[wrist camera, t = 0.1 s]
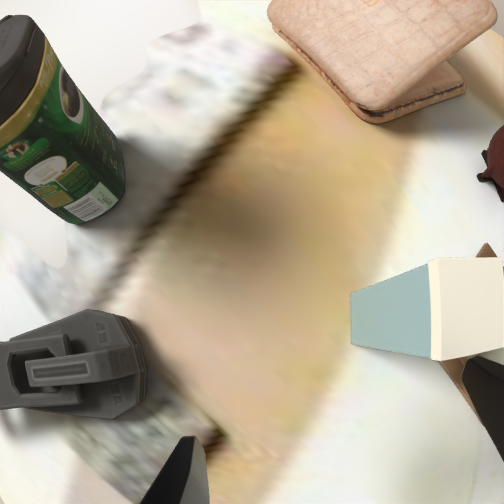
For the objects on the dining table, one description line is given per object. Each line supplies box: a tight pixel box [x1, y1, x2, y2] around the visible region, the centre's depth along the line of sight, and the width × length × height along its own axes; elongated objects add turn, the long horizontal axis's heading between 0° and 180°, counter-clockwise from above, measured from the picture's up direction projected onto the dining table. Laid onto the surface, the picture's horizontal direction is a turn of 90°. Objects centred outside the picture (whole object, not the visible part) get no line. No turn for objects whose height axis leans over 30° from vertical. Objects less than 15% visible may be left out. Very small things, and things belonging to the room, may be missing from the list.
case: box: [267, 0, 497, 124], centre depth 22 cm, size 20×21×16 cm
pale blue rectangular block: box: [350, 257, 504, 361], centre depth 16 cm, size 4×4×13 cm
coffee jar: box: [0, 15, 125, 224], centre depth 17 cm, size 10×8×19 cm
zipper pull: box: [0, 309, 147, 419], centre depth 19 cm, size 9×7×25 cm
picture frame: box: [438, 243, 504, 426], centre depth 20 cm, size 14×12×2 cm
